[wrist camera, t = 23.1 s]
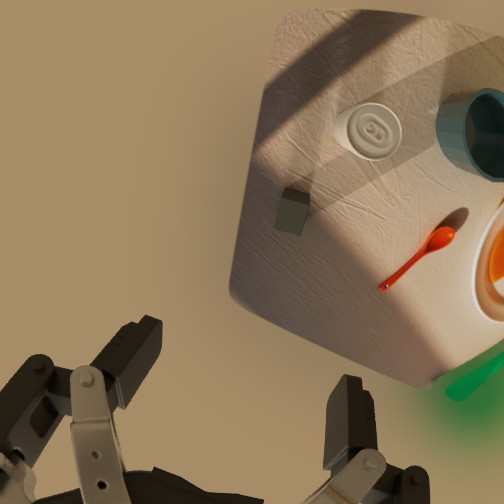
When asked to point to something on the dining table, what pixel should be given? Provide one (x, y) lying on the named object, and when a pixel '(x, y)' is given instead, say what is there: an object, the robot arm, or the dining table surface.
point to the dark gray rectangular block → (292, 211)
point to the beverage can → (369, 130)
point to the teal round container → (474, 132)
